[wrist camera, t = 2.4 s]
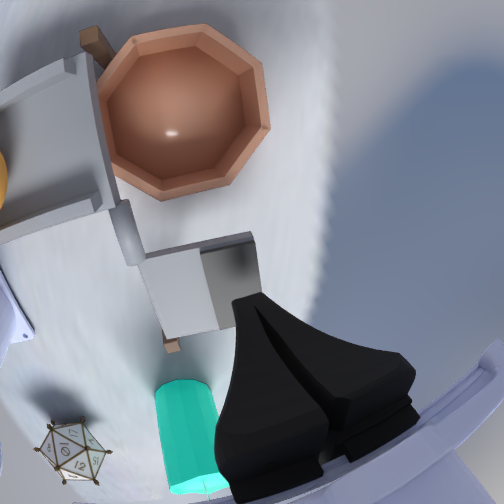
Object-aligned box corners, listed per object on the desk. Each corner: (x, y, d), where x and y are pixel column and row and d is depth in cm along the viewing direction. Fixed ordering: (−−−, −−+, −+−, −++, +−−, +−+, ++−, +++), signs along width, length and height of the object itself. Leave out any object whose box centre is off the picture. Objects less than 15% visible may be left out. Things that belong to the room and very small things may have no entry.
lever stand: (70, 320, 19) (55, 376, 14) (-3, 105, 11) (-54, 107, 6) (172, 294, 21) (180, 350, 16) (116, 54, 12) (97, 25, 7)
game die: (75, 408, 28) (57, 469, 21) (36, 390, 21) (14, 461, 15) (131, 436, 26) (112, 502, 20) (95, 425, 20) (73, 506, 13)
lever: (50, 348, 14) (38, 383, 12) (-37, 127, 7) (-73, 136, 5) (262, 312, 16) (276, 349, 13) (220, 26, 9) (230, 1, 6)
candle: (142, 395, 24) (157, 504, 14) (187, 370, 25) (217, 487, 14) (179, 417, 28) (203, 511, 17) (222, 395, 28) (258, 493, 18)
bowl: (121, 197, 17) (113, 214, 14) (94, 63, 12) (80, 51, 9) (256, 165, 18) (276, 175, 15) (237, 36, 14) (255, 20, 11)
